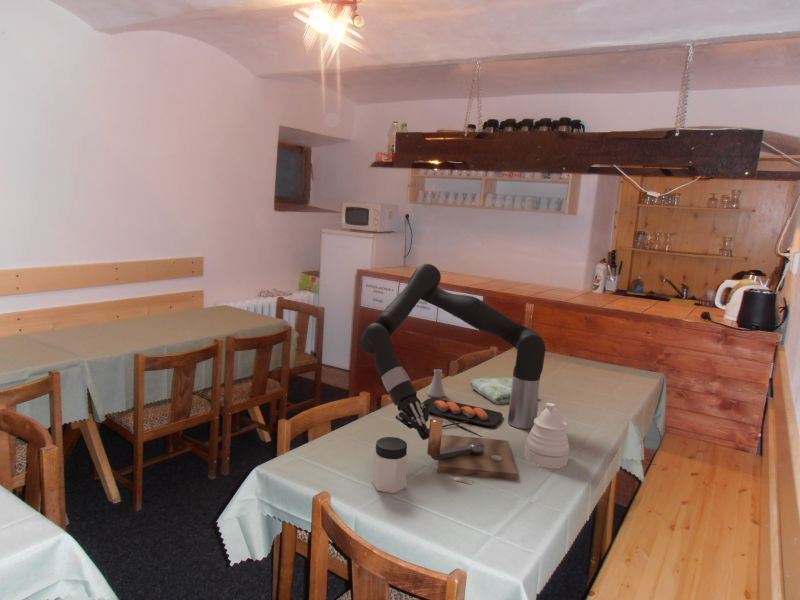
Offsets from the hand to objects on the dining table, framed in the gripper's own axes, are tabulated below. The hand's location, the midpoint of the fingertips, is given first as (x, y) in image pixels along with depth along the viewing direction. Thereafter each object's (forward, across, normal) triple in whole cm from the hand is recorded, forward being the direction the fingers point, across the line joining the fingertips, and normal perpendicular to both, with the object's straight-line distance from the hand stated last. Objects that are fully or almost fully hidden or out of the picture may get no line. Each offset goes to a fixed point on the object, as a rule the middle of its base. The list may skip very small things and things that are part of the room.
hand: (426, 438), depth 165 cm
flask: (-18, -49, -31) cm, 61 cm away
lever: (+7, -8, 0) cm, 11 cm away
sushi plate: (-4, -33, -17) cm, 37 cm away
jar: (+7, +16, -5) cm, 19 cm away
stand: (+12, -13, +1) cm, 17 cm away
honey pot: (+21, -32, +9) cm, 40 cm away
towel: (-7, -72, -19) cm, 75 cm away
